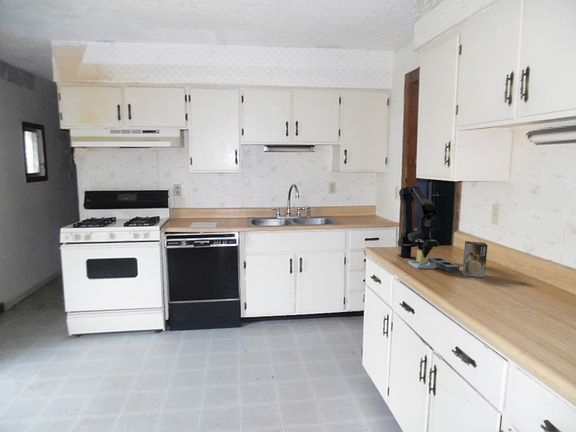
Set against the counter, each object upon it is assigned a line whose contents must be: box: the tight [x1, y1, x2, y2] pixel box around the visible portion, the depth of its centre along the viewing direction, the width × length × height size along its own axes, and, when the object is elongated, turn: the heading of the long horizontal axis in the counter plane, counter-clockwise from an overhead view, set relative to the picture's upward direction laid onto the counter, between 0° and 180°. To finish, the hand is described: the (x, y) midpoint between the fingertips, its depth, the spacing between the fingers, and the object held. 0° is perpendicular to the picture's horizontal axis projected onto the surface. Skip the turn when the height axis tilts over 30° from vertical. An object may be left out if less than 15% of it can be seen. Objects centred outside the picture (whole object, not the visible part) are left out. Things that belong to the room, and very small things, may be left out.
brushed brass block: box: [415, 248, 430, 264], centre depth 204 cm, size 4×4×7 cm
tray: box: [408, 260, 437, 270], centre depth 204 cm, size 10×10×2 cm
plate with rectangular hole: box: [428, 257, 461, 273], centre depth 205 cm, size 18×7×2 cm, turn 9°
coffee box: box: [461, 240, 488, 278], centre depth 191 cm, size 9×6×16 cm
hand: (422, 256), depth 204 cm, fingers closed on brushed brass block, 4 cm apart
